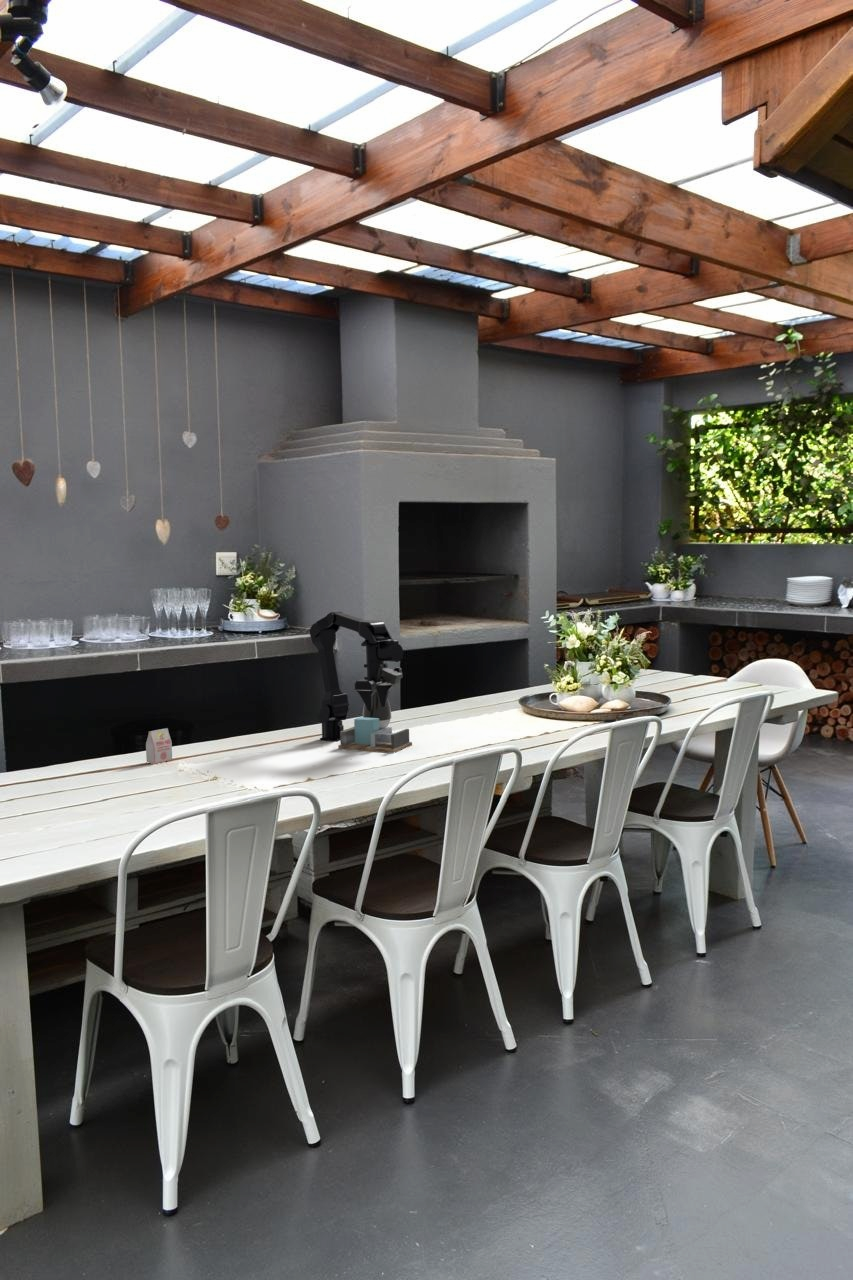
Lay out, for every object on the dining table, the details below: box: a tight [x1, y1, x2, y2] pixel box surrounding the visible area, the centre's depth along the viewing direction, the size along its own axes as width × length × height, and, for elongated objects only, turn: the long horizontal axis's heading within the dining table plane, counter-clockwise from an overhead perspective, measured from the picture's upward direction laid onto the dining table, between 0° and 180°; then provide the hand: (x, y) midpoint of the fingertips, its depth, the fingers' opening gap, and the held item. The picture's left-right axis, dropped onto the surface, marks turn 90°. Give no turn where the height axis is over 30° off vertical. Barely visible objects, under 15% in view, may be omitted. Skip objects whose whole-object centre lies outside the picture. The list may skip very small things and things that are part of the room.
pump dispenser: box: [362, 689, 392, 730], centre depth 360 cm, size 10×10×15 cm
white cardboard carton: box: [145, 727, 173, 765], centre depth 309 cm, size 4×7×10 cm, turn 142°
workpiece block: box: [353, 716, 380, 745], centre depth 328 cm, size 7×4×8 cm, turn 65°
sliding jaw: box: [371, 726, 410, 749], centre depth 324 cm, size 8×12×4 cm, turn 155°
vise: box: [338, 726, 413, 753], centre depth 327 cm, size 20×13×6 cm, turn 65°
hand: (376, 708), depth 325 cm, fingers open, 9 cm apart
